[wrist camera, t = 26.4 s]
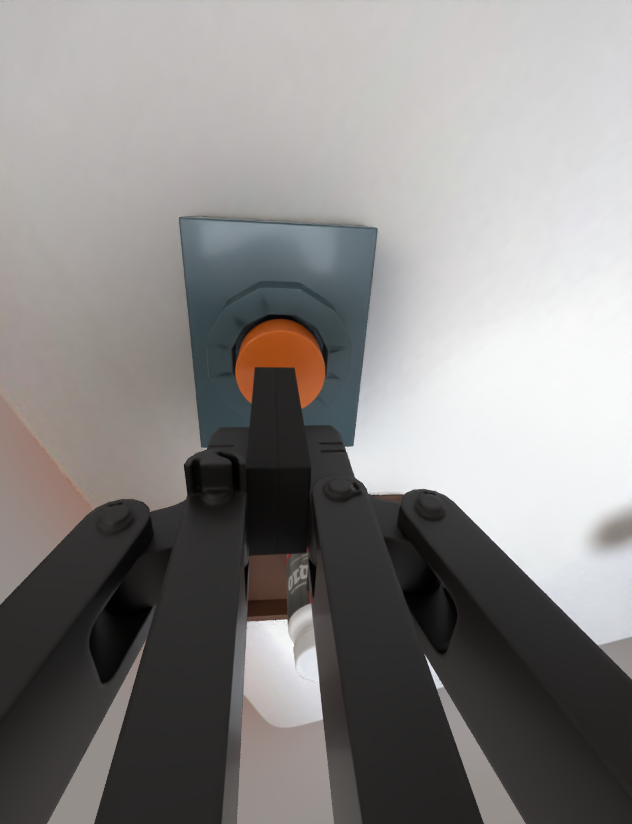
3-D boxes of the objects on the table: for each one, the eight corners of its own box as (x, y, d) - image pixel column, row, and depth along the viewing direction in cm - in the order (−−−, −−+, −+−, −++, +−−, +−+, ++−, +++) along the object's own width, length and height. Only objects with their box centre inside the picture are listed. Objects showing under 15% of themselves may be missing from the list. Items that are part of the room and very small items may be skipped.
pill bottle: (330, 526, 30) (349, 629, 22) (352, 563, 32) (376, 670, 25) (275, 548, 30) (275, 656, 23) (300, 584, 32) (308, 693, 25)
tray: (234, 601, 33) (232, 622, 32) (228, 498, 28) (225, 517, 27) (384, 593, 35) (390, 613, 33) (403, 494, 30) (411, 512, 28)
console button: (318, 396, 20) (322, 414, 18) (240, 395, 20) (237, 414, 18) (323, 319, 18) (328, 331, 17) (237, 316, 18) (233, 329, 16)
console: (345, 421, 26) (359, 464, 22) (209, 421, 25) (195, 466, 21) (364, 225, 21) (388, 229, 16) (191, 216, 20) (168, 217, 15)
